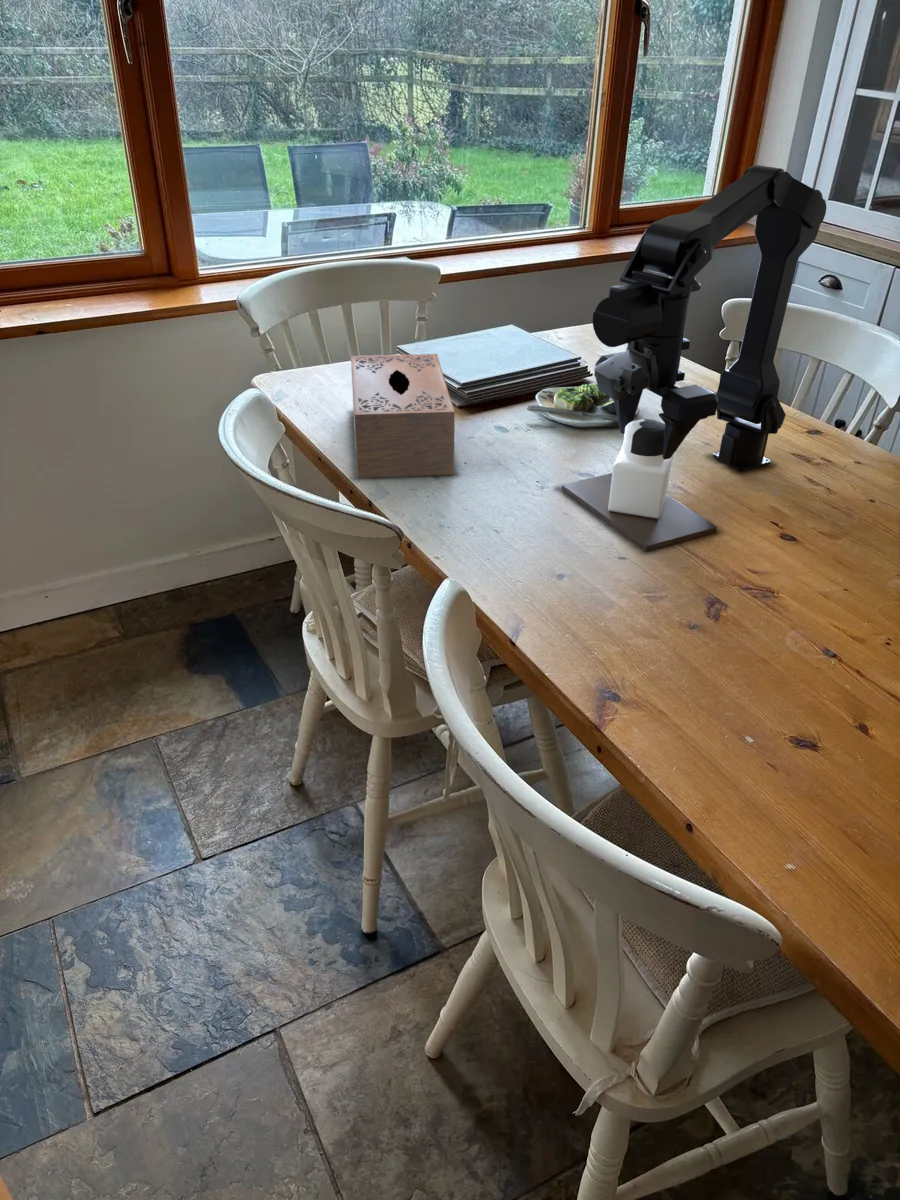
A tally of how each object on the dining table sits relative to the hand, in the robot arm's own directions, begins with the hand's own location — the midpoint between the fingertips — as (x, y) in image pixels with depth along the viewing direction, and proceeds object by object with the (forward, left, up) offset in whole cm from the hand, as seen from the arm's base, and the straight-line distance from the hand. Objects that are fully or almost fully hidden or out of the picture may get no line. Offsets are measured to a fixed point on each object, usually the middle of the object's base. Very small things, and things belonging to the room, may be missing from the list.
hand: (644, 445), depth 123 cm
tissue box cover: (+20, -36, -10) cm, 42 cm away
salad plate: (-15, -33, -10) cm, 38 cm away
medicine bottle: (0, 0, -9) cm, 9 cm away
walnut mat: (0, 0, -10) cm, 10 cm away
